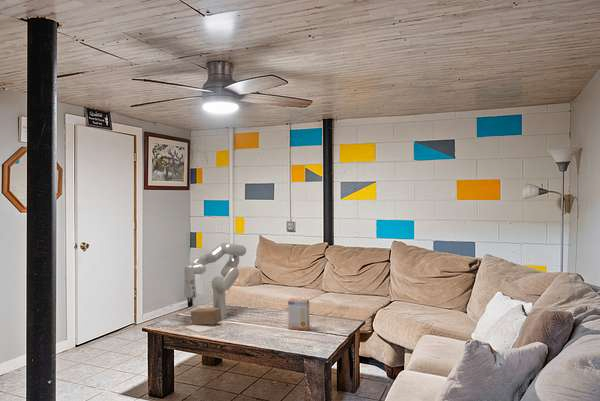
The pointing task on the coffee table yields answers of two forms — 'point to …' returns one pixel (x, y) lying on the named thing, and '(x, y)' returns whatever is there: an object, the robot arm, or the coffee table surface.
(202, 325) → the mat
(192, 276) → the robot arm
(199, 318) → the wooden block
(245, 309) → the coffee table surface
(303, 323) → the cracker box
